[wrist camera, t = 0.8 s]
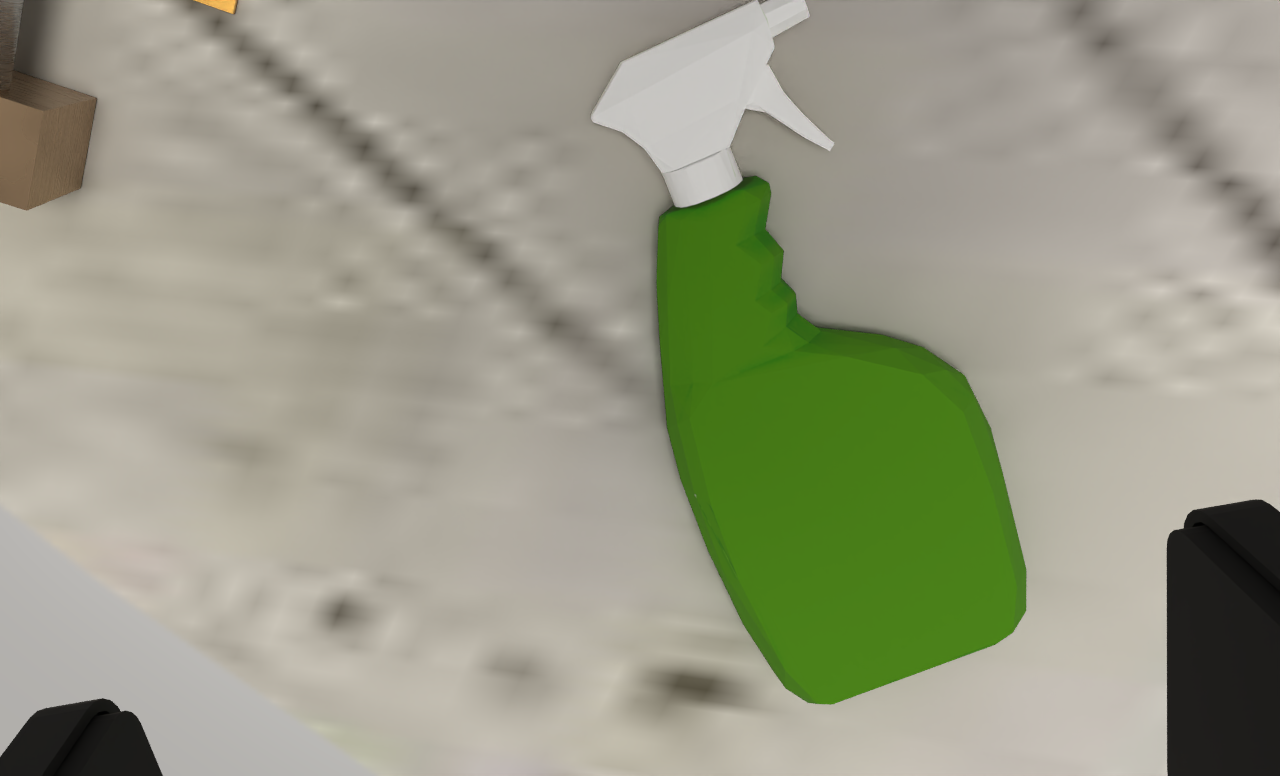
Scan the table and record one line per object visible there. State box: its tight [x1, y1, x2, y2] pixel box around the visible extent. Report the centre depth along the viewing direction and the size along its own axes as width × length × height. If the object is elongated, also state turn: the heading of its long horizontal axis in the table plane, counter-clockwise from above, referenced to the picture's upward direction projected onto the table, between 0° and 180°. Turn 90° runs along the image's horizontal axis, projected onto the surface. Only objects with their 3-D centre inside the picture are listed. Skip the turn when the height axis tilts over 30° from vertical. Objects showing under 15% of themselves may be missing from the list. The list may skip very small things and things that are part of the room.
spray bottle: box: [591, 0, 1026, 704], centre depth 38 cm, size 3×11×24 cm
